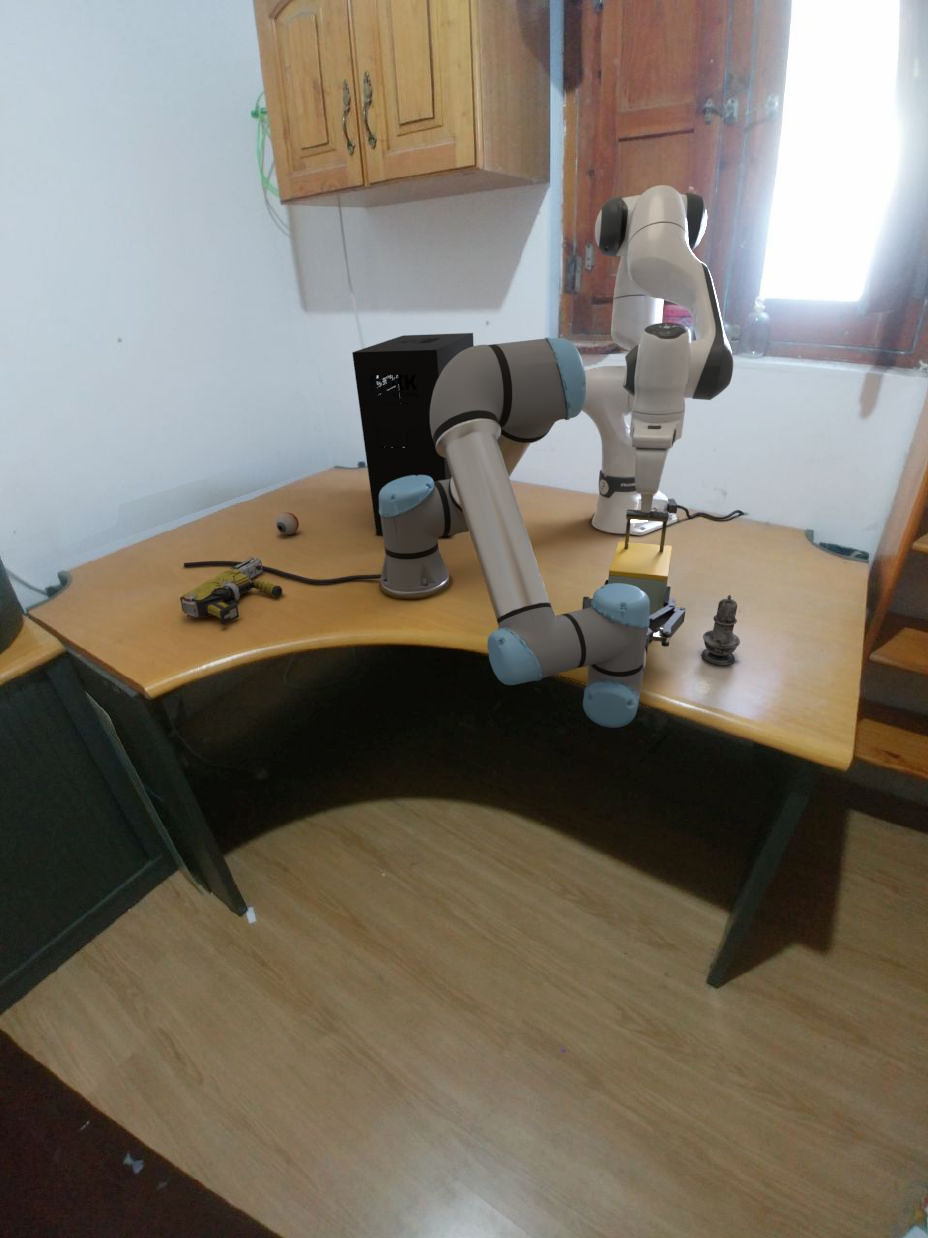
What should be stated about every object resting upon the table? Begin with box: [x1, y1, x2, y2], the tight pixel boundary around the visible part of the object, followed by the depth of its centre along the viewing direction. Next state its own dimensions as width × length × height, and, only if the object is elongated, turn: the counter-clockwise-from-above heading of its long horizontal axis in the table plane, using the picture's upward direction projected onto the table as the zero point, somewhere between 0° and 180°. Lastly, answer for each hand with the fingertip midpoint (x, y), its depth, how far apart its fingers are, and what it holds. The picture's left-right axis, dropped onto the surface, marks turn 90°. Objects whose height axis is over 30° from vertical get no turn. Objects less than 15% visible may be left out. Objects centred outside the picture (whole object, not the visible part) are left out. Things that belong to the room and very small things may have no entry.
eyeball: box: [275, 511, 300, 536], centre depth 163 cm, size 6×6×6 cm
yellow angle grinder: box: [179, 556, 283, 625], centre depth 132 cm, size 5×24×15 cm
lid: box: [608, 509, 673, 581], centre depth 112 cm, size 14×10×9 cm
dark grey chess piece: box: [701, 594, 741, 666], centre depth 101 cm, size 6×6×12 cm
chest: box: [607, 558, 672, 631], centre depth 117 cm, size 14×10×10 cm
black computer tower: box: [351, 332, 475, 539], centre depth 164 cm, size 38×20×45 cm, turn 167°
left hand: (637, 589), depth 113 cm, fingers closed on chest, 10 cm apart
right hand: (648, 502), depth 112 cm, fingers open, 8 cm apart
